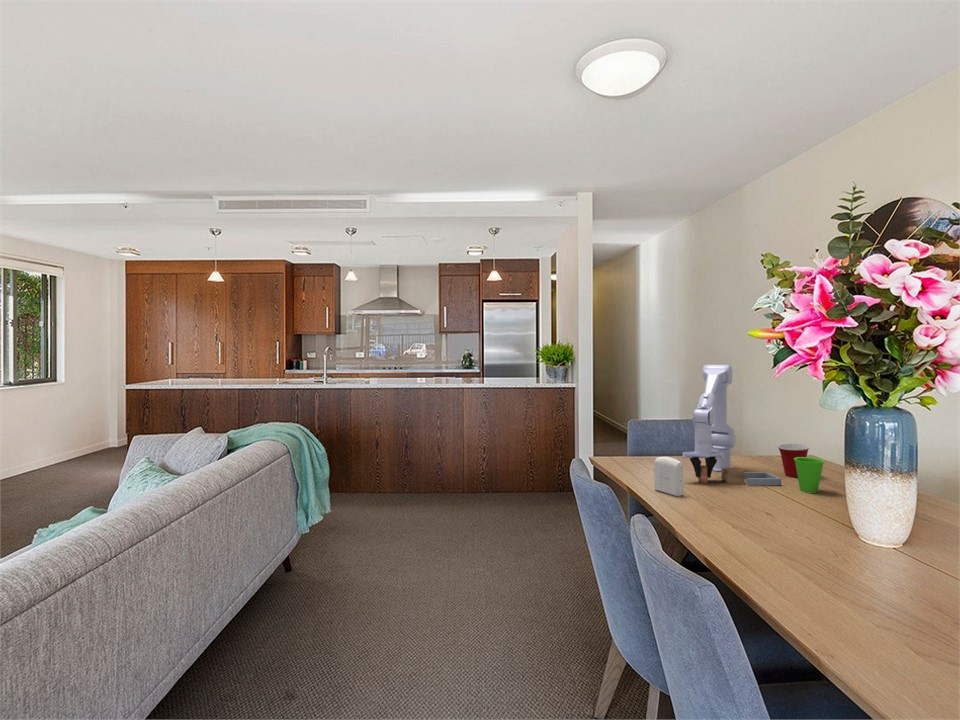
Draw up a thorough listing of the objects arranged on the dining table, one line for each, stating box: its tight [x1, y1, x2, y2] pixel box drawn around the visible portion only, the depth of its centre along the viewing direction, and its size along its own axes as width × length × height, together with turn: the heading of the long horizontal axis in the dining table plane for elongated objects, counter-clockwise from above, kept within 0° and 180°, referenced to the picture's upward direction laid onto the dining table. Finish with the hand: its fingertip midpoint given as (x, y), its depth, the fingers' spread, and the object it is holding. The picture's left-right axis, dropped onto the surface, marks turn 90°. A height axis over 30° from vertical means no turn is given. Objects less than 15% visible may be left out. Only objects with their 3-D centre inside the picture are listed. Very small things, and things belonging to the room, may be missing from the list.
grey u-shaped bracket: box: [744, 471, 782, 487], centre depth 189 cm, size 10×12×2 cm
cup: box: [794, 457, 826, 494], centre depth 177 cm, size 9×9×11 cm
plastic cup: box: [777, 443, 810, 479], centre depth 197 cm, size 11×11×12 cm
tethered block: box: [697, 464, 745, 485], centre depth 189 cm, size 5×16×6 cm, turn 89°
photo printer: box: [654, 456, 684, 497], centre depth 177 cm, size 10×4×12 cm, turn 31°
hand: (703, 477), depth 189 cm, fingers closed on tethered block, 3 cm apart
